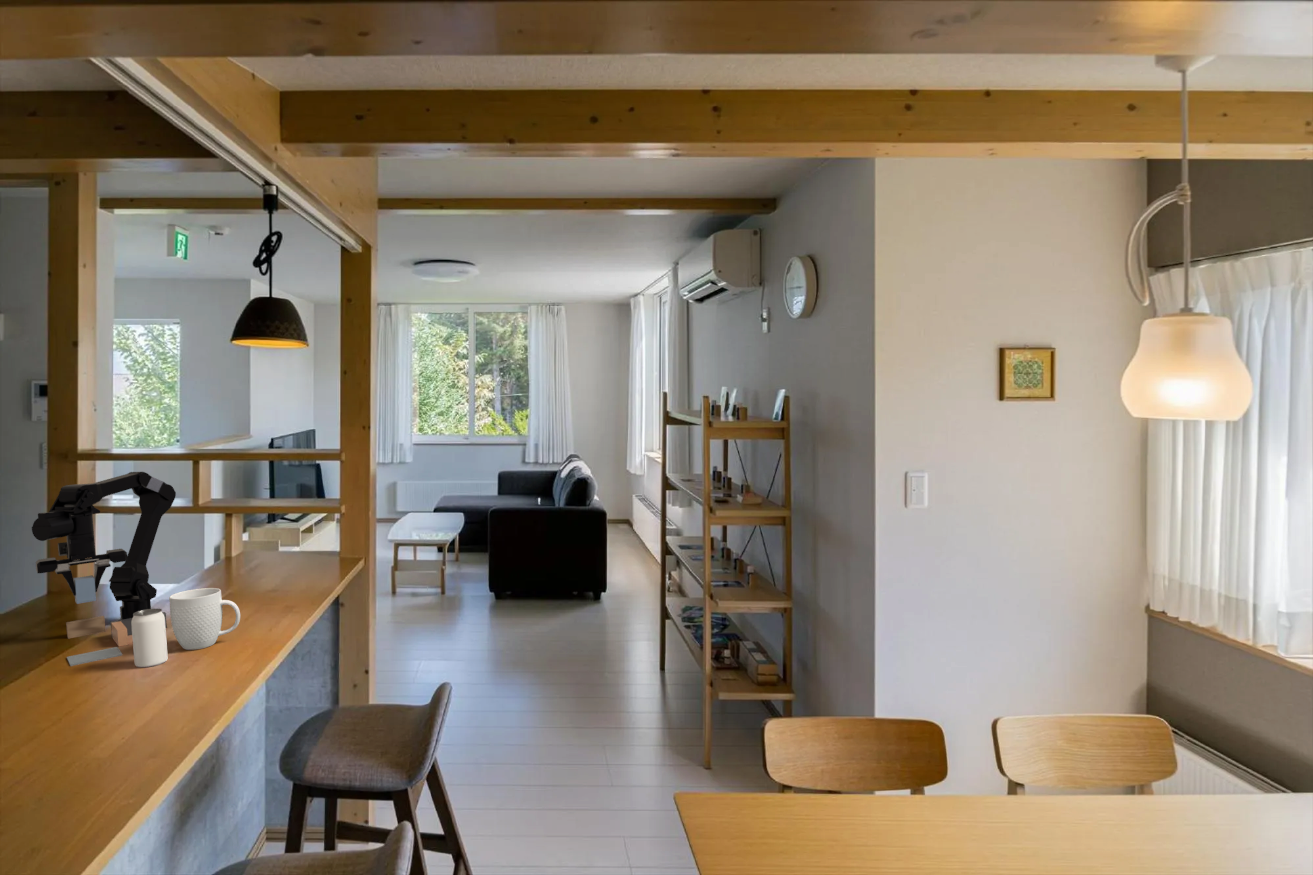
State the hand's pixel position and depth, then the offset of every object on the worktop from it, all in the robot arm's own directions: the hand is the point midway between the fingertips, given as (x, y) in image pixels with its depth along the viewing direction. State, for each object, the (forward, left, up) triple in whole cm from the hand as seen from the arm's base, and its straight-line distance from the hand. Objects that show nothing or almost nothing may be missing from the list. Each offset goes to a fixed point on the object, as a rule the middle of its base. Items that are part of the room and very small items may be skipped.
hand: (85, 593), depth 204 cm
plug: (0, 0, -2) cm, 2 cm away
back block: (0, -5, -12) cm, 13 cm away
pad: (+1, +21, -12) cm, 24 cm away
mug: (-20, +31, -12) cm, 39 cm away
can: (-8, +37, -12) cm, 40 cm away
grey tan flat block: (-10, +10, -11) cm, 19 cm away
